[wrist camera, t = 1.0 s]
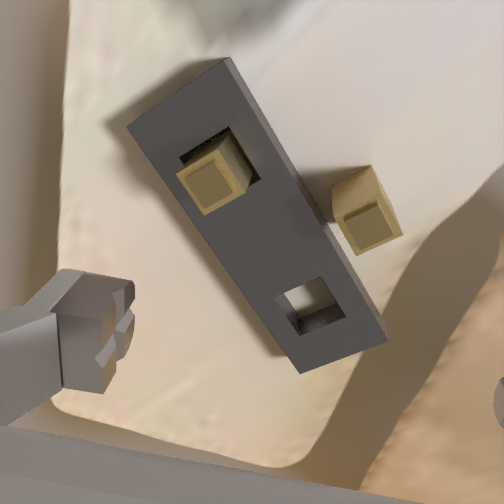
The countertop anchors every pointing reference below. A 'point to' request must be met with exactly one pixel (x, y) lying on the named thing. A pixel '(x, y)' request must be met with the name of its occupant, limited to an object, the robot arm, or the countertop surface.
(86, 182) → the countertop surface
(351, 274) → the grey peg hole board
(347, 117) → the countertop surface
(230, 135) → the tan square peg
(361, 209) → the wooden post chunk
